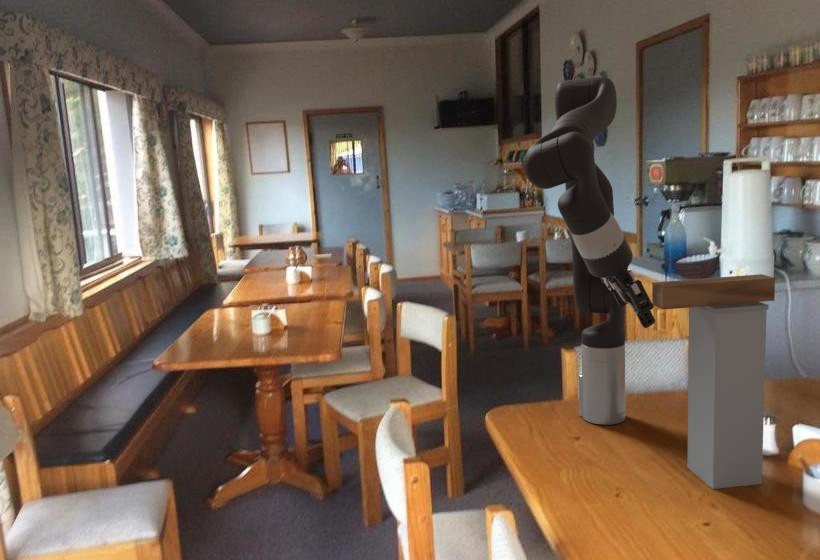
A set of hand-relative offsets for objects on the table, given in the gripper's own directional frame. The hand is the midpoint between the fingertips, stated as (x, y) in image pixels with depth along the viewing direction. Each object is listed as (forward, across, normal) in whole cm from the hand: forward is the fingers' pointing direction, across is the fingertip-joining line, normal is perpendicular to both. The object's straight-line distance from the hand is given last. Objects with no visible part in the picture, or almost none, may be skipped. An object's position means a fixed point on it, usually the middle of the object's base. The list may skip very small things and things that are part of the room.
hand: (637, 313), depth 124 cm
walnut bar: (+5, -3, -12) cm, 13 cm away
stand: (+33, -11, +2) cm, 34 cm away
